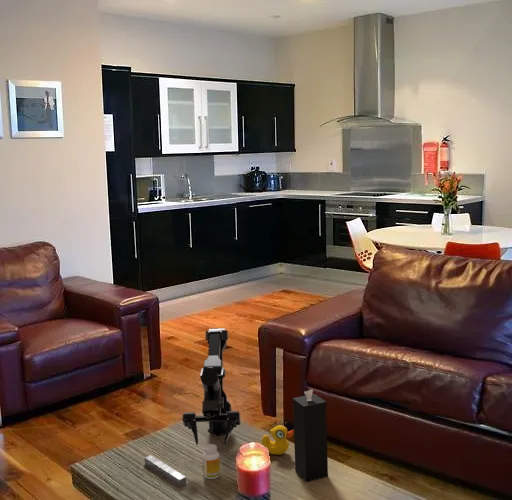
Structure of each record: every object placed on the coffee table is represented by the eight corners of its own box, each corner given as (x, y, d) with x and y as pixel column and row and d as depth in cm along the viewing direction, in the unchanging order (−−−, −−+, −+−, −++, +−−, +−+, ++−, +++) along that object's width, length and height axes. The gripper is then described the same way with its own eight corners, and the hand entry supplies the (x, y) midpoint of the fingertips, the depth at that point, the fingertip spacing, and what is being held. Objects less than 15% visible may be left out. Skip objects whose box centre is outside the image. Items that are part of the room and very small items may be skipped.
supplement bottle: (224, 474, 203) (222, 446, 201) (211, 481, 199) (210, 452, 197) (212, 469, 206) (210, 441, 205) (200, 475, 202) (198, 447, 201)
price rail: (152, 461, 213) (151, 454, 213) (187, 484, 197) (186, 476, 197) (144, 464, 212) (144, 457, 211) (179, 487, 196) (179, 479, 195)
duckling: (295, 450, 217) (295, 423, 216) (294, 457, 212) (293, 429, 210) (263, 449, 219) (262, 422, 218) (260, 456, 214) (259, 428, 212)
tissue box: (294, 471, 203) (292, 388, 199) (316, 466, 206) (314, 383, 202) (306, 482, 195) (303, 396, 191) (328, 476, 198) (326, 391, 194)
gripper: (181, 389, 206) (178, 435, 197) (238, 387, 206) (238, 434, 197) (185, 403, 215) (183, 448, 206) (240, 401, 215) (240, 446, 205)
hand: (211, 444), depth 203 cm, fingers open, 9 cm apart
